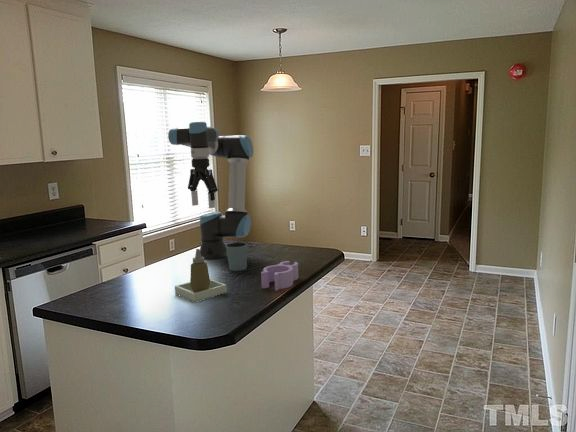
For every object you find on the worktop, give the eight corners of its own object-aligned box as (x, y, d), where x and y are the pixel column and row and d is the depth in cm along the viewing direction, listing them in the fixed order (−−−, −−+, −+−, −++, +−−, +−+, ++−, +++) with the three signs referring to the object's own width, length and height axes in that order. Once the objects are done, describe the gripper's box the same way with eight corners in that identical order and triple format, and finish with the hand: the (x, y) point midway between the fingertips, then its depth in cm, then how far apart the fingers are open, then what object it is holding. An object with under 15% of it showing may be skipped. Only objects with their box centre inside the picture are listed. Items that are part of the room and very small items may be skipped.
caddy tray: (175, 294, 189) (174, 286, 189) (206, 285, 199) (206, 277, 198) (194, 302, 178) (194, 294, 178) (226, 293, 188) (226, 284, 188)
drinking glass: (250, 265, 227) (248, 241, 225) (246, 271, 217) (244, 246, 215) (229, 265, 228) (228, 242, 226) (225, 271, 219) (223, 246, 217)
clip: (281, 274, 211) (280, 260, 210) (305, 278, 205) (304, 262, 204) (256, 287, 194) (255, 271, 193) (282, 291, 188) (281, 275, 187)
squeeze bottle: (208, 295, 184) (205, 251, 181) (188, 295, 185) (185, 252, 182) (212, 288, 192) (209, 246, 189) (193, 289, 193) (190, 247, 190)
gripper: (177, 158, 207) (181, 205, 211) (208, 158, 189) (212, 210, 192) (192, 157, 212) (195, 203, 216) (223, 157, 194) (227, 207, 197)
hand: (203, 206), depth 204 cm, fingers open, 13 cm apart
